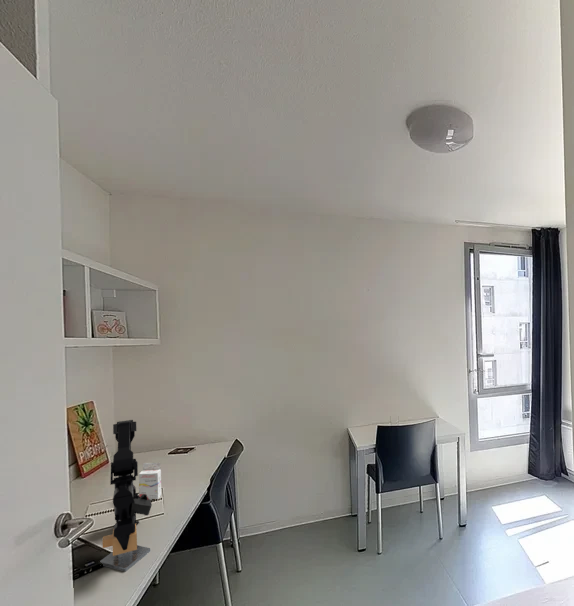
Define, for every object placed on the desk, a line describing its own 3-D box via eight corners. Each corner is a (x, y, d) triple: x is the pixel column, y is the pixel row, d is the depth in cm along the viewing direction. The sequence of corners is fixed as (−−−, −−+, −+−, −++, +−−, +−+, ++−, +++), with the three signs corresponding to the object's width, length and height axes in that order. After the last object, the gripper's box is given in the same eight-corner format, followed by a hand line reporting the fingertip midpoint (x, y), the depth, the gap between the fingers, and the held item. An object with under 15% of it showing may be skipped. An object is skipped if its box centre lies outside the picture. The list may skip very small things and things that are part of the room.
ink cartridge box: (138, 501, 165) (138, 467, 166) (142, 495, 170) (141, 462, 171) (158, 499, 166) (157, 465, 167) (161, 494, 171) (160, 461, 172)
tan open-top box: (103, 546, 125) (103, 531, 126) (136, 538, 129) (136, 523, 130) (102, 558, 119) (102, 542, 119) (137, 549, 123) (136, 533, 123)
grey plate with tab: (125, 545, 132) (124, 532, 132) (150, 551, 128) (149, 537, 128) (99, 564, 121) (98, 550, 122) (125, 571, 117) (125, 556, 118)
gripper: (151, 501, 120) (152, 551, 119) (148, 480, 137) (149, 524, 137) (113, 509, 116) (114, 562, 115) (114, 486, 133) (115, 532, 132)
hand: (125, 543), depth 125 cm, fingers closed on tan open-top box, 7 cm apart
